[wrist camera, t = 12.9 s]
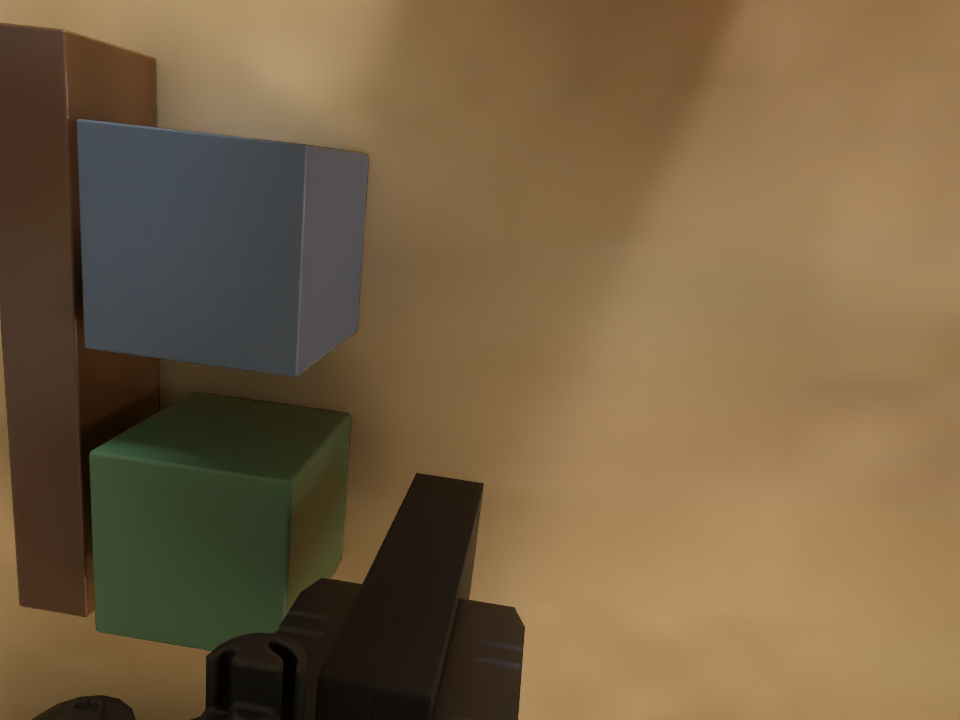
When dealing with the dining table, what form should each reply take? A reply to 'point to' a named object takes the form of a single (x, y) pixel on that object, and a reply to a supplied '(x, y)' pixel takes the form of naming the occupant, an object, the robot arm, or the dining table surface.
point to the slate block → (218, 246)
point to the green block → (215, 518)
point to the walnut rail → (59, 301)
